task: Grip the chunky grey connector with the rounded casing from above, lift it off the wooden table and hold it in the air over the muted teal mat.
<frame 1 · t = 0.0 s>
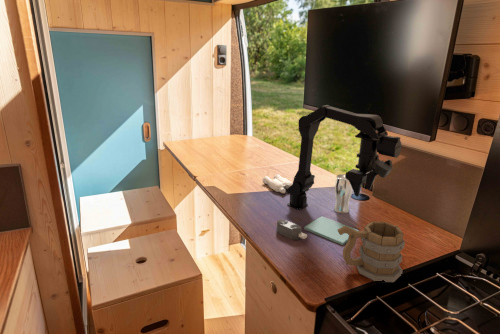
hand: (362, 192, 126), 15 cm above the worktop, tool pointing down, fingers open, 9 cm apart
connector: (288, 234, 127), on the worktop
tankard: (365, 269, 107), on the worktop
mat: (331, 230, 129), on the worktop
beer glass: (341, 210, 146), on the worktop
binoculars: (279, 188, 168), on the worktop
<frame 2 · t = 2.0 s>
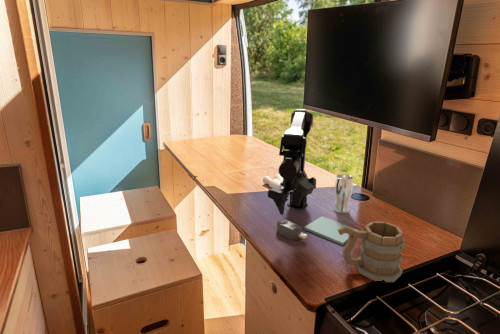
hand: (289, 210, 124), 10 cm above the worktop, tool pointing down, fingers open, 9 cm apart
nothing on the worktop moved.
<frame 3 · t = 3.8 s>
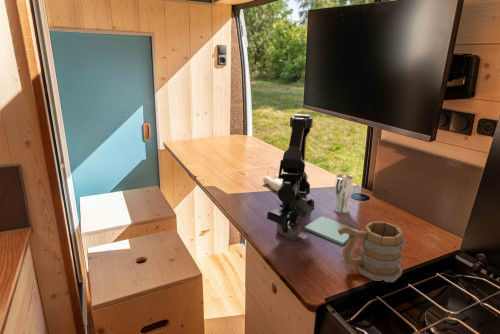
hand: (288, 230, 126), 2 cm above the worktop, tool pointing down, fingers closed on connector, 4 cm apart
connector: (288, 234, 127), on the worktop, touching gripper
everything else where it was.
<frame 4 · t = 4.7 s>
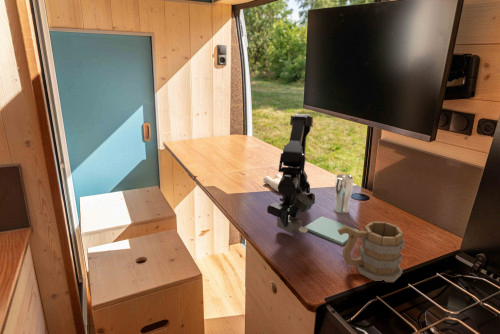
hand: (289, 224, 125), 4 cm above the worktop, tool pointing down, fingers closed on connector, 4 cm apart
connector: (288, 228, 126), point 2 cm above the worktop, touching gripper
everything else where it was.
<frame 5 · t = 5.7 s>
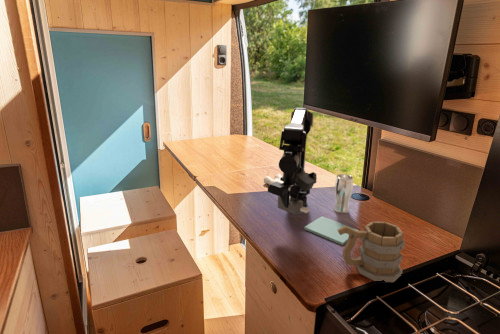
hand: (289, 205, 123), 12 cm above the worktop, tool pointing down, fingers closed on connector, 4 cm apart
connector: (289, 209, 123), point 10 cm above the worktop, touching gripper
everything else where it was.
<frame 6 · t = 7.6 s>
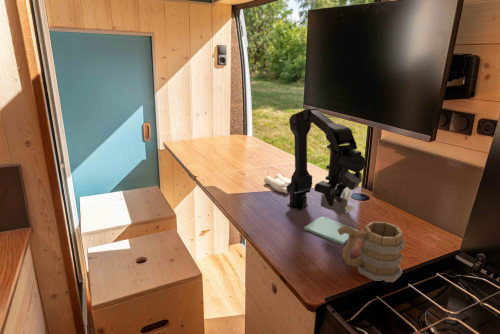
hand: (333, 204, 126), 11 cm above the worktop, tool pointing down, fingers closed on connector, 4 cm apart
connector: (333, 207, 126), point 9 cm above the worktop, touching gripper
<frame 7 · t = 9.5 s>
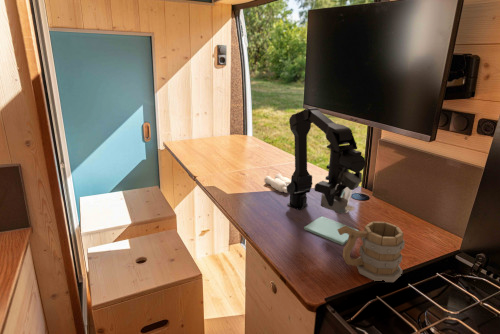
hand: (333, 204, 126), 11 cm above the worktop, tool pointing down, fingers closed on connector, 4 cm apart
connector: (333, 207, 126), point 9 cm above the worktop, touching gripper
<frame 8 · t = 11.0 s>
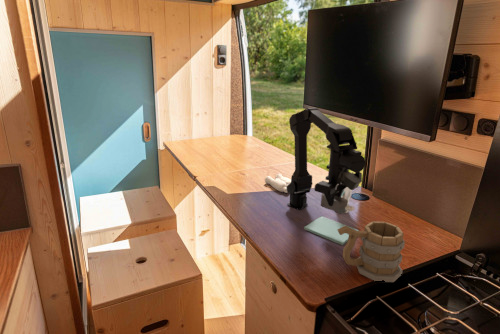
hand: (333, 204, 126), 11 cm above the worktop, tool pointing down, fingers closed on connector, 4 cm apart
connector: (333, 207, 126), point 9 cm above the worktop, touching gripper
at the end: the gripper is holding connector; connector inside the target area (0.0 cm from its centre), point 9.4 cm above the worktop; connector tilted 0° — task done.
